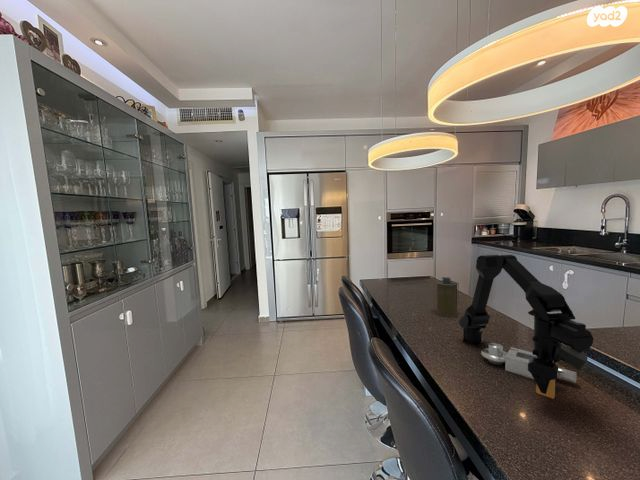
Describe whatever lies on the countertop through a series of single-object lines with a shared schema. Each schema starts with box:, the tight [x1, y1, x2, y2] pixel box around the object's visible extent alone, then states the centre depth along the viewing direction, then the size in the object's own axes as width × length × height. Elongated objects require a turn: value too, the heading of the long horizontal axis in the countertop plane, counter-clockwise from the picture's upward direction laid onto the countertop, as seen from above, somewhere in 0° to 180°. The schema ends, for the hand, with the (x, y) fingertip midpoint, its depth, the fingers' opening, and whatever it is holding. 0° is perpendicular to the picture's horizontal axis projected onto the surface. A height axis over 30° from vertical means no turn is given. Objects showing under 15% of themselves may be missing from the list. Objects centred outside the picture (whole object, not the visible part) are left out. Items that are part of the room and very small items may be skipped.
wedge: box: [535, 380, 556, 400], centre depth 79 cm, size 4×2×8 cm, turn 45°
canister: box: [436, 276, 460, 318], centre depth 146 cm, size 11×10×20 cm
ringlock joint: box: [480, 342, 577, 384], centre depth 91 cm, size 26×9×6 cm, turn 45°
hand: (545, 385), depth 79 cm, fingers open, 9 cm apart
